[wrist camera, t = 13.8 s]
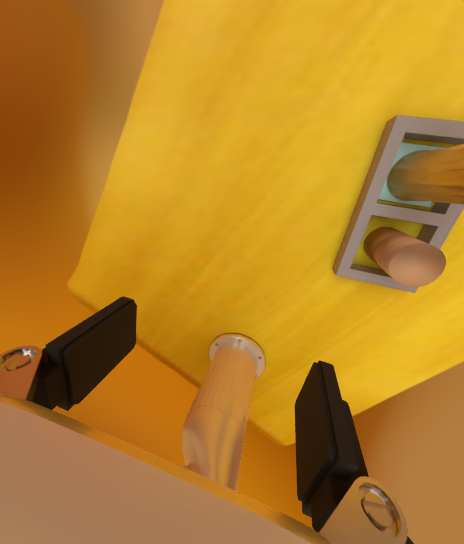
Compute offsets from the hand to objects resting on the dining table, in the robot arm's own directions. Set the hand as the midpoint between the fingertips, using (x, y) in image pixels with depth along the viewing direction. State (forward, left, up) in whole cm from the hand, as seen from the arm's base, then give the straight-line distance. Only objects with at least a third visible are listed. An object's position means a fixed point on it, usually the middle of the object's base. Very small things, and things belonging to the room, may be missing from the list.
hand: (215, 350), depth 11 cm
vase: (+11, -17, -28) cm, 35 cm away
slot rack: (+7, -17, -28) cm, 34 cm away
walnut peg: (+2, -17, -28) cm, 33 cm away
